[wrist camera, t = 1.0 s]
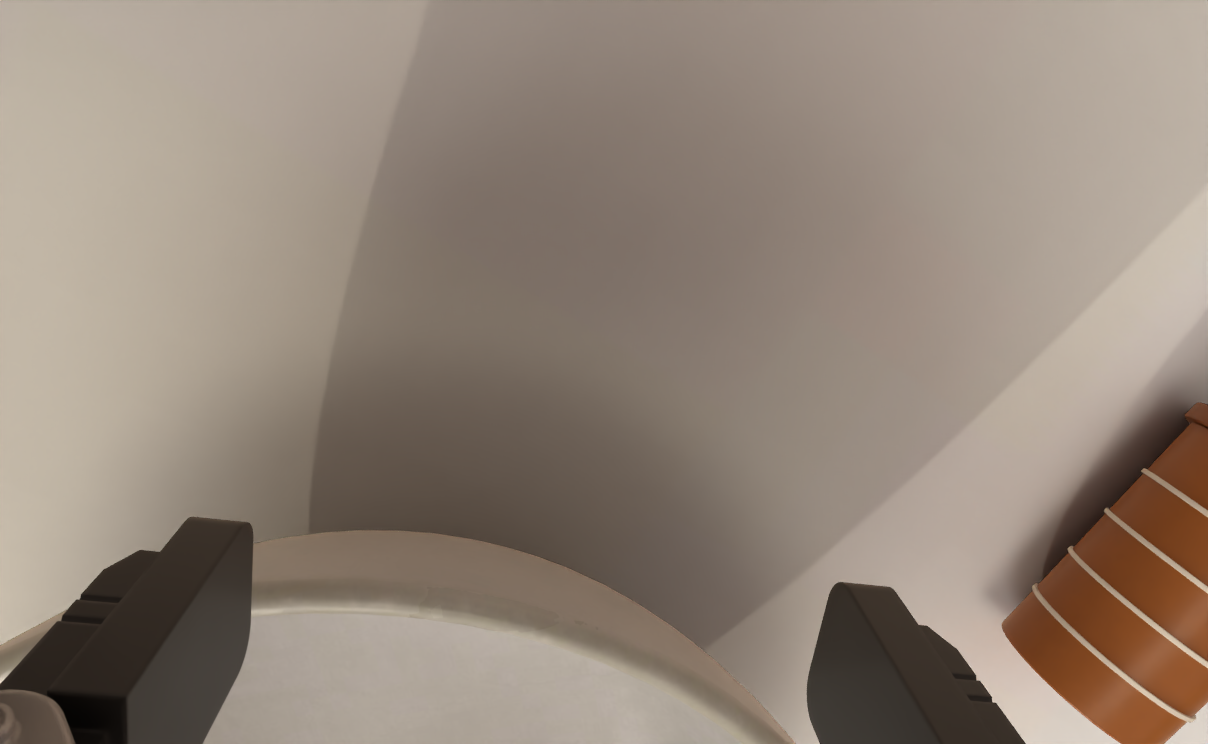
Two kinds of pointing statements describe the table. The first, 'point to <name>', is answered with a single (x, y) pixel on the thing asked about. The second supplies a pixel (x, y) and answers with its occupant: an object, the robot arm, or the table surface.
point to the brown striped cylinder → (1132, 603)
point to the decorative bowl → (458, 653)
